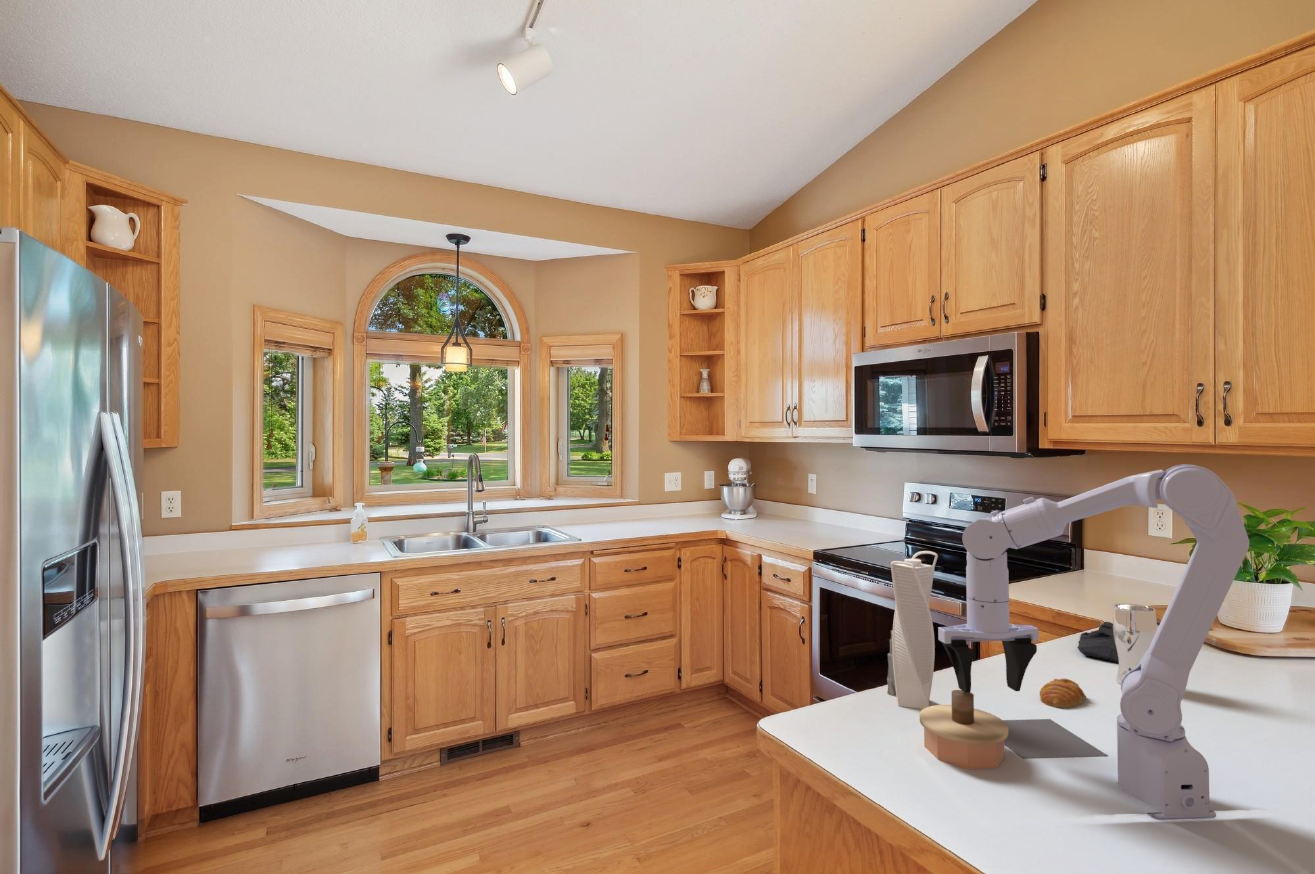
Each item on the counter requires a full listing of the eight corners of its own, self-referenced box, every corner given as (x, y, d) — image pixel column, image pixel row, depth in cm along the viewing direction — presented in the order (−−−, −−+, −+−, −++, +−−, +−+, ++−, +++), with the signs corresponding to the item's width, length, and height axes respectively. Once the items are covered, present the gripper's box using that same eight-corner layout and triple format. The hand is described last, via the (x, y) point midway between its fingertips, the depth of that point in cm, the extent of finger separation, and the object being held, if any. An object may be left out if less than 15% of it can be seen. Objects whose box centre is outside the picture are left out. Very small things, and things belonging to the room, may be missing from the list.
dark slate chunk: (1065, 657, 145) (1065, 635, 145) (1083, 636, 161) (1083, 616, 161) (1151, 673, 134) (1151, 649, 134) (1161, 648, 151) (1161, 628, 151)
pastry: (1075, 718, 111) (1074, 695, 111) (1031, 707, 116) (1030, 685, 116) (1088, 702, 118) (1087, 681, 118) (1046, 693, 123) (1045, 672, 123)
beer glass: (1166, 688, 124) (1165, 609, 125) (1142, 693, 122) (1141, 612, 122) (1128, 676, 131) (1127, 601, 131) (1105, 680, 128) (1104, 604, 129)
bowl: (1016, 772, 92) (1016, 740, 92) (947, 774, 91) (947, 742, 91) (978, 740, 102) (977, 711, 102) (915, 742, 101) (915, 713, 101)
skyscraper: (935, 701, 118) (934, 548, 119) (942, 719, 111) (940, 555, 111) (886, 697, 121) (885, 546, 121) (889, 714, 113) (888, 553, 113)
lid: (1026, 743, 91) (1025, 709, 91) (941, 744, 91) (940, 709, 91) (982, 709, 103) (981, 679, 103) (906, 709, 103) (906, 679, 103)
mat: (1108, 760, 95) (1108, 755, 95) (1022, 763, 95) (1022, 757, 95) (1050, 723, 108) (1050, 718, 108) (974, 725, 108) (974, 720, 108)
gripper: (1017, 591, 102) (1019, 678, 102) (928, 593, 101) (929, 681, 101) (1047, 602, 95) (1049, 695, 95) (951, 604, 94) (952, 698, 94)
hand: (989, 689), depth 97 cm, fingers open, 7 cm apart
